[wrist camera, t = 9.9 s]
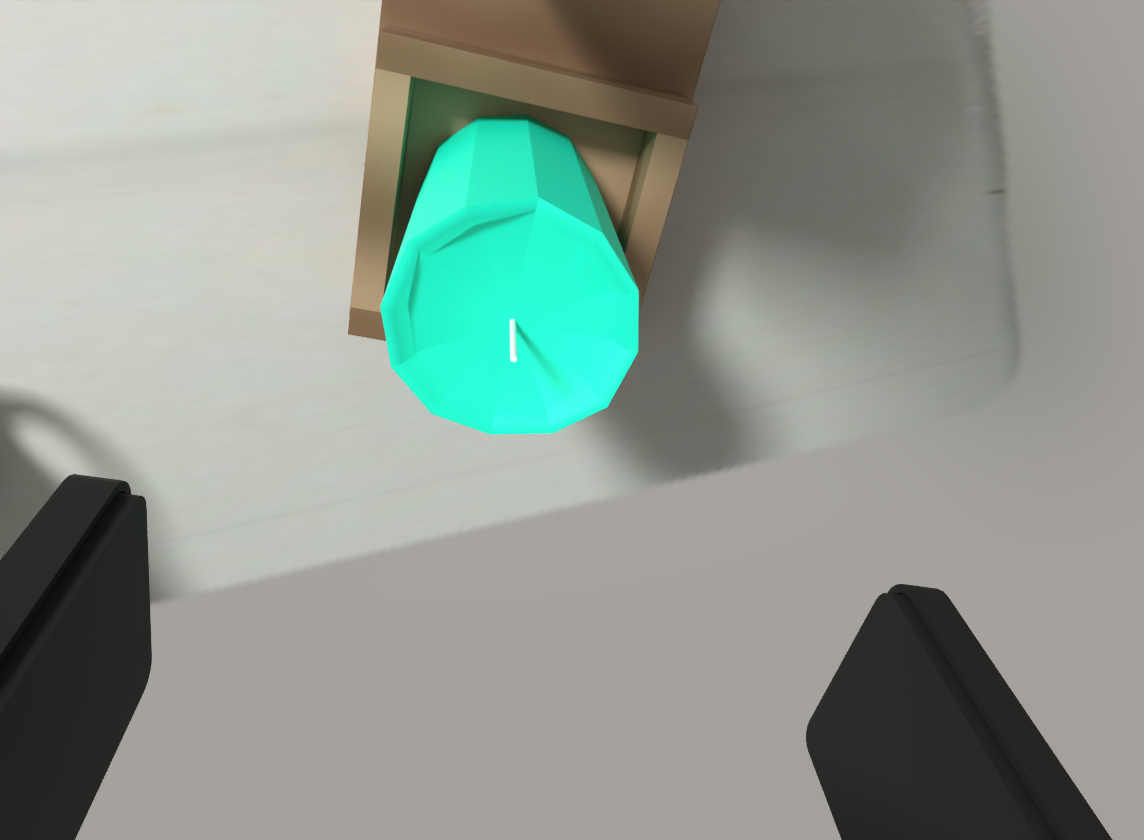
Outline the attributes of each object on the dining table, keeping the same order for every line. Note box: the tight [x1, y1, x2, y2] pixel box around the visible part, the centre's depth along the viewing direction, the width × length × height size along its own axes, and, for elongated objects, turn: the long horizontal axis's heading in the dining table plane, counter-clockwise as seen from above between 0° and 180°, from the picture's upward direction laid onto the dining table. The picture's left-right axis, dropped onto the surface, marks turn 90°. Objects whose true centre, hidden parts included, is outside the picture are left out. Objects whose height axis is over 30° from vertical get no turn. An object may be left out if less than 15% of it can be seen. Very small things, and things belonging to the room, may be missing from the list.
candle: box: [380, 114, 639, 434], centre depth 23 cm, size 6×6×12 cm
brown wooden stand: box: [348, 0, 720, 341], centre depth 21 cm, size 22×10×14 cm, turn 167°
